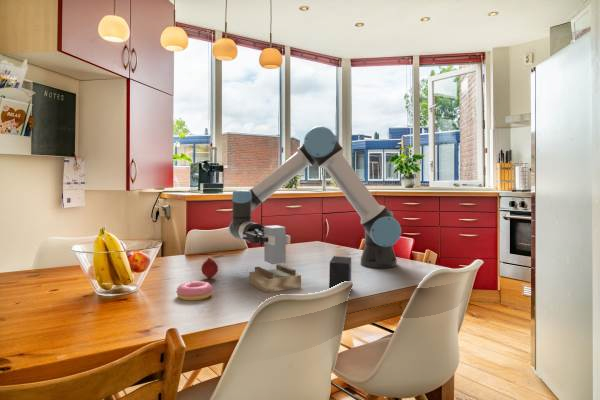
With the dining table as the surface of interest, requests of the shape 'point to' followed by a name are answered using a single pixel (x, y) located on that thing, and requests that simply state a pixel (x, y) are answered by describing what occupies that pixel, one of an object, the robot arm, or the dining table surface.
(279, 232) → the tall grey prism
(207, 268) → the onion
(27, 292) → the dining table surface
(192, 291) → the doughnut
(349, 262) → the small box
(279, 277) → the stand
